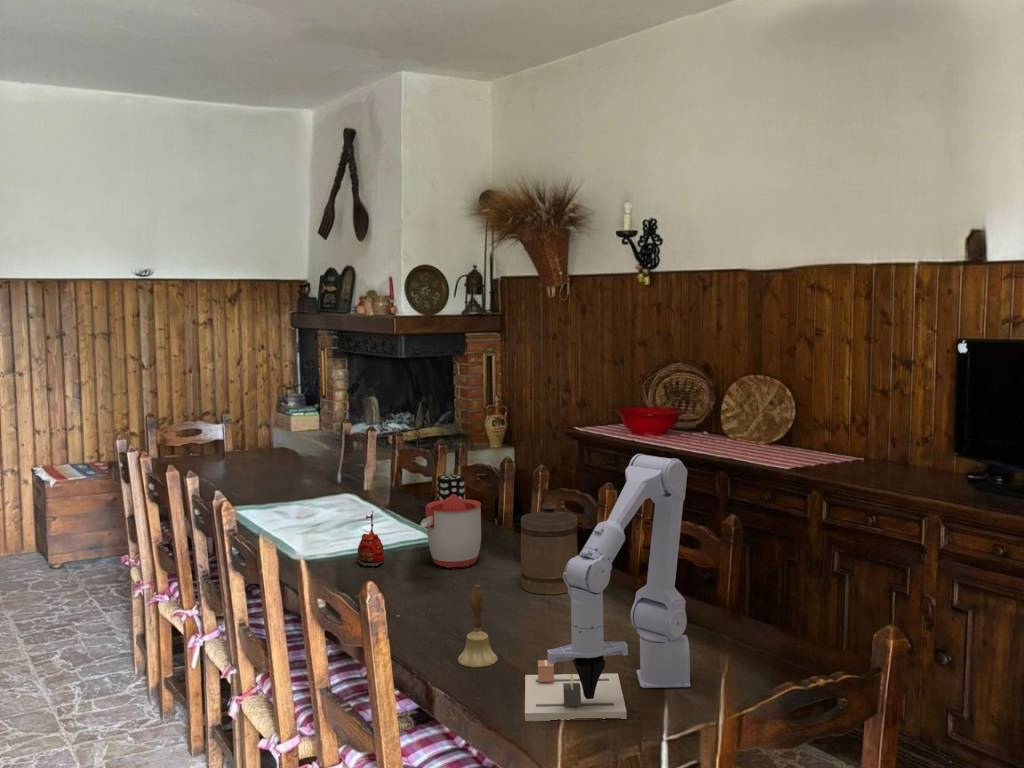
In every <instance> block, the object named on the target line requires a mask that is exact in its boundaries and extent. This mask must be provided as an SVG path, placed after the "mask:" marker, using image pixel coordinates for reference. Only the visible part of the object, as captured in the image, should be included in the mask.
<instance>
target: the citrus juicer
mask: <svg viewBox="0 0 1024 768" xmlns="http://www.w3.org/2000/svg"><path fill="white" fill-rule="evenodd" d="M481 507H482V503H481V502H480V501H479V500H475V499H466V498H465V499H459V498H458V497H457V496H456V495H455V494H452V495H451V496H450V497H449V498H448V499H446V500H439V501H438V500H435V501H431V502H428V503H427V504H426V505H425V518H423V519H422V520H421V522H420V527H421V528H423V529H425V528H427V541H428V546H429V550H430V554H431V559H432V561H433V563H434V564H435V563H436V564H438V565H440V566H446V567H462V568H466V567H465V566H467V567H470V566H469V565H472V564H473V565H475V564H476V563H475V562H477V560H478V557H479V553H480V549H481V544H482V543H481V542H482V513H481V512H482V509H481ZM474 563H475V564H474ZM473 565H472V566H473Z"/></svg>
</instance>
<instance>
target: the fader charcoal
mask: <svg viewBox="0 0 1024 768" xmlns="http://www.w3.org/2000/svg"><path fill="white" fill-rule="evenodd" d="M563 695H564V706H581V689H580V683H563Z"/></svg>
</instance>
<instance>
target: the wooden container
mask: <svg viewBox="0 0 1024 768" xmlns="http://www.w3.org/2000/svg"><path fill="white" fill-rule="evenodd" d="M541 509H542V511H535V512H530V513H526V514H524V515H522V516H521V517H520V579H521V580H520V581H521V589H523V590H524V591H525V592H527V593H530V594H531V593H532V594H535V595H536V594H537V595H546V596H547V595H549V596H552V595H553V596H554V595H555V596H556V595H564V594H568V587H567V585H566V583H565V582H564V579H563V573H564V572H565V567H566V565H567V563H568V561H569V560H570V559H572V558H573V557H574V558H575V556H579V550H578V517H577V515H576V514H573V513H570V512H566V511H558V510H557V511H556V510H555V509H556V505H555V503H553V502H552V501H548V502H547V501H546V502H545V503H543V504H542V505H541Z"/></svg>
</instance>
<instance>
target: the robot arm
mask: <svg viewBox="0 0 1024 768" xmlns="http://www.w3.org/2000/svg"><path fill="white" fill-rule="evenodd" d="M624 472H625V473H624V474H625V475H624V476H625V484H624V486H623V488H622V490H621V492H620V494H619V496H618V497H617V500H616V502H615V504H614V506H613V508H612V509H611V511H610V514H609V516H608V518H607V520H604V521H601V522H598V523H597V524H596V526H595V527H594V529H593V531H592V532H591V534H590V536H589V538H588V539H587V541H586V543H585V544H584V546H583V548H582V549H581V551H580V552H579V553H578V556H575V558H574V557H573V558H572V559H570V560H569V561H568V563H567V565H566V567H565V572H564V573H563V579H564V582H565V583H566V585H567V587H568V593H567V594H568V595H569V596H568V597H570V618H571V620H570V622H571V629H570V630H571V643H570V644H567V645H563V646H559V647H557V648H552V649H547V651H546V652H547V653H546V654H547V660H548V661H549V663H550V664H554V665H555V664H556V663H559V662H567V661H571V662H572V663H573V666H574V667H575V670H576V674H578V675H579V678H580V681H581V684H582V688H583V694H584V696H585V698H586V699H594V694H595V689H596V685H597V682H598V680H599V677H600V675H601V674H603V671H604V670H605V668H606V660H605V659H604V657H611V656H620V655H621V656H624V657H625V656H628V655H629V645H628V644H627V642H626V641H624V640H623V641H604V634H605V633H604V595H603V593H604V590H605V589H606V588H607V586H608V585H609V584H610V583H609V582H610V579H611V571H612V569H613V564H612V563H613V562H614V560H615V558H616V556H617V554H618V553H619V551H620V550H621V548H622V546H623V545H624V543H625V541H626V535H625V529H626V527H627V526H628V524H629V523H630V521H631V520H632V519H633V517H634V516H635V515H636V513H637V512H638V510H639V509H640V507H642V504H643V503H644V502H645V500H647V499H650V500H651V501H652V502H653V504H654V510H653V520H652V521H653V522H652V528H651V529H652V531H651V539H650V540H651V541H650V549H649V560H648V569H647V578H646V584H645V585H644V586H643V587H640V589H638V590H636V592H635V596H634V597H635V598H634V602H633V605H632V607H631V608H630V623H631V625H632V626H633V628H635V629H636V634H637V635H639V659H640V661H639V663H640V664H639V665H640V668H639V669H636V675H637V679H638V683H639V686H640V688H641V687H642V689H653V688H654V689H655V688H691V661H690V660H691V659H690V657H691V655H690V654H691V653H690V642H689V638H688V636H687V634H684V632H685V630H686V628H687V623H688V621H687V620H688V618H687V612H686V603H687V601H686V600H685V598H684V597H683V595H681V593H680V592H679V591H678V590H677V588H676V587H675V584H676V576H677V575H676V574H677V568H678V567H677V566H678V557H679V547H680V539H681V538H680V537H681V528H682V518H683V510H684V509H683V507H684V501H685V499H686V489H687V480H688V479H687V478H688V472H689V471H688V469H687V468H686V466H685V465H684V463H683V461H681V460H680V459H679V458H668V457H661V456H654V455H648V454H644V453H637V454H635V455H634V456H633V457H632V458H631V459H630V462H629V464H628V466H627V467H626V468H625V471H624Z"/></svg>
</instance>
